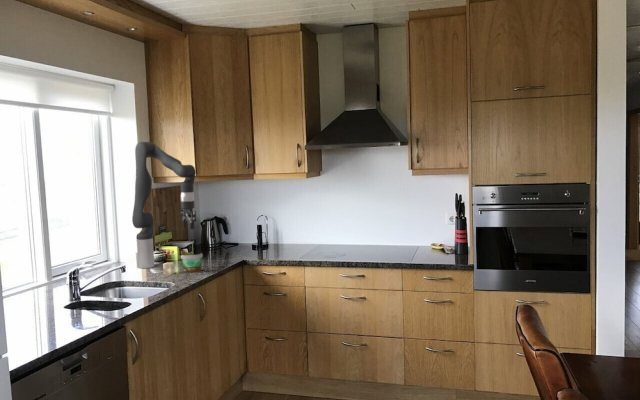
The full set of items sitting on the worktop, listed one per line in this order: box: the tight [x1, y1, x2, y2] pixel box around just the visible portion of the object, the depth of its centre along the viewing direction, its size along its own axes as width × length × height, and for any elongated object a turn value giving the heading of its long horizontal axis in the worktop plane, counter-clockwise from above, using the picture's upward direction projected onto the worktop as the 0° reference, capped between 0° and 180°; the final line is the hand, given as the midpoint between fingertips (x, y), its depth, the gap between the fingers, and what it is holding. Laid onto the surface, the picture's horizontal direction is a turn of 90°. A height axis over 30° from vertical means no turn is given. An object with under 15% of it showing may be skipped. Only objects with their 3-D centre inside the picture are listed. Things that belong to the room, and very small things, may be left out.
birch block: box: [162, 261, 176, 276], centre depth 295 cm, size 4×4×6 cm
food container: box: [180, 252, 204, 274], centre depth 297 cm, size 12×6×10 cm, turn 105°
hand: (188, 228), depth 299 cm, fingers open, 8 cm apart
